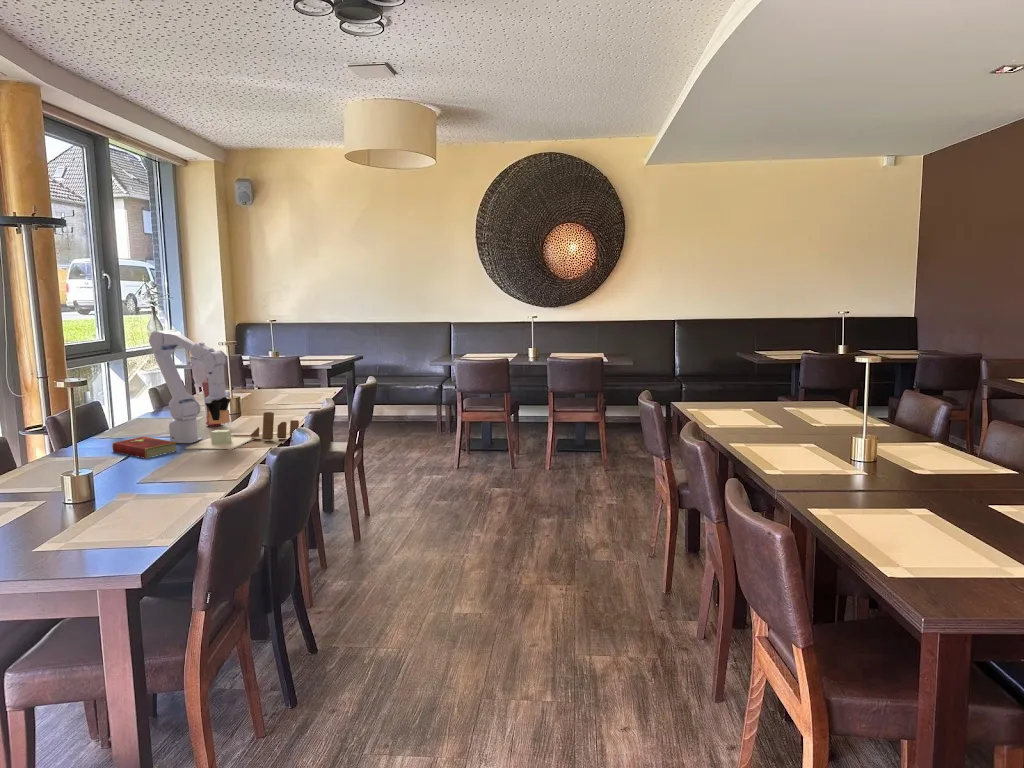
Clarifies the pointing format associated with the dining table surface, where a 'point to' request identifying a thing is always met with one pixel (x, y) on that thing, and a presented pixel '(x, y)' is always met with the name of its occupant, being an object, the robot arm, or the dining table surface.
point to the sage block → (221, 436)
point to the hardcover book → (144, 446)
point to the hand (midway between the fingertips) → (219, 418)
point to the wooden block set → (268, 427)
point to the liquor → (205, 394)
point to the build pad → (231, 445)
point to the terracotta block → (222, 419)
